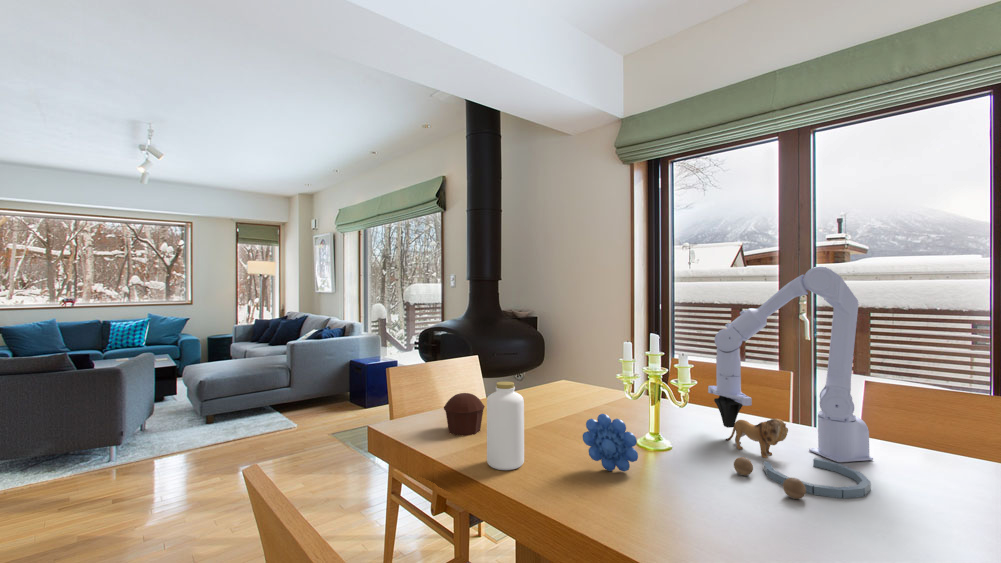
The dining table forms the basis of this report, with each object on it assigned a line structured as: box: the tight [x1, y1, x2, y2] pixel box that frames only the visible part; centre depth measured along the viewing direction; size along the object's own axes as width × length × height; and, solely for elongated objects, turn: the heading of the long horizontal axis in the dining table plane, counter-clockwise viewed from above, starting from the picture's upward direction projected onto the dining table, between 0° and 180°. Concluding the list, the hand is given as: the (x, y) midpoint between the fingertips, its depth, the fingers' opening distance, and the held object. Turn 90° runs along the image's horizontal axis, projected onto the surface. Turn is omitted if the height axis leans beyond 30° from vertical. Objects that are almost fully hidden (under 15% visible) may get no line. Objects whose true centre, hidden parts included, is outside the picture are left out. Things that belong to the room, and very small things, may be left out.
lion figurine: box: [724, 418, 789, 459], centre depth 108 cm, size 15×5×9 cm, turn 34°
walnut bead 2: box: [782, 477, 807, 500], centre depth 83 cm, size 4×4×4 cm
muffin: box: [443, 392, 486, 437], centre depth 124 cm, size 12×11×10 cm
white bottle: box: [486, 381, 525, 471], centre depth 100 cm, size 8×8×18 cm
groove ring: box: [762, 457, 872, 499], centre depth 91 cm, size 17×15×2 cm
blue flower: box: [582, 413, 639, 472], centre depth 95 cm, size 12×7×12 cm, turn 70°
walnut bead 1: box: [733, 456, 754, 476], centre depth 94 cm, size 4×4×4 cm
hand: (728, 426), depth 118 cm, fingers closed
